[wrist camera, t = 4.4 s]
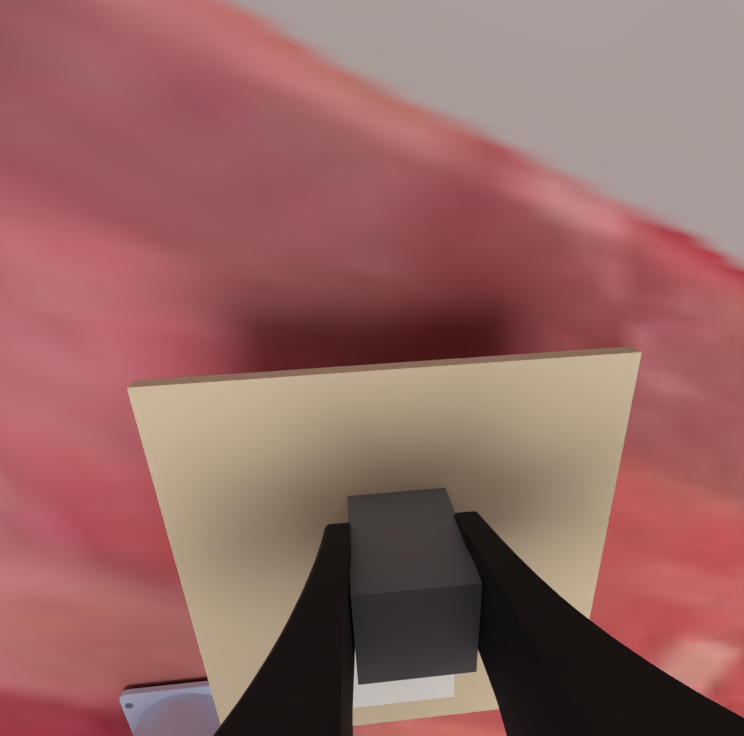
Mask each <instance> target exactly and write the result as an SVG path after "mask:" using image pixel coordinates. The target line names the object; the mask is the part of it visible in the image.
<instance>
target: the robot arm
mask: <svg viewBox="0 0 744 736" xmlns="http://www.w3.org/2000/svg"><path fill="white" fill-rule="evenodd" d="M454 517H455V520H456V522H457V525H458V528H459V530H460V533H461V535H462V538H463V541H464V543H465V545H466V547H467V549H468V551H469V553H470V555H471V557H472V559H473V561H474V563H475V565H476V568H477V571H478V573H479V576H480V578H481V581H482V596H481V611H480V626H479V641H478V651H479V653H480V656H481V659H482V661H483V664H484V667H485V670H486V672H487V675H488V678H489V681H490V683H491V686H492V689H493V691H494V694H495V697H496V700H497V703H498V706H499V709H500V713H501V716H502V719H503V723H504V727H505V730H506V734H507V736H744V718H743V717H741V716H739V715H737V714H736V713H734V712H732V711H730V710H728V709H726V708H725V707H723V706H721V705H719V704H717V703H715V702H714V701H712V700H710V699H708V698H706V697H705V696H703V695H701V694H699V693H698V692H696V691H694V690H693V689H691V688H690V687H688V686H686V685H685V684H683V683H681V682H680V681H678V680H676V679H675V678H673V677H671V676H670V675H668V674H667V673H665V672H663V671H662V670H660V669H659V668H657V667H656V666H654V665H653V664H651V663H649V662H648V661H646V660H645V659H644V658H642V657H641V656H639V655H638V654H636V653H635V652H633V651H632V650H630V649H629V648H628V647H626V646H625V645H623V644H622V643H620V642H619V641H617V640H616V639H614V638H613V637H612V636H610V635H609V634H608V633H606V632H605V631H603V630H602V629H601V628H599V627H598V626H597V625H595V624H594V623H593V622H592V621H590V620H589V619H588V618H587V617H585V616H584V615H583V614H581V613H580V612H579V611H578V610H577V609H575V608H574V607H573V606H572V605H571V604H569V603H568V602H567V601H566V600H565V599H563V598H562V597H561V596H560V595H559V594H558V593H557V592H556V591H554V590H553V589H552V588H551V587H550V586H549V585H548V584H547V583H546V582H544V581H543V580H542V579H541V578H540V577H539V576H538V575H537V574H536V573H535V572H534V571H533V570H532V569H531V568H530V567H529V566H528V565H527V564H526V563H525V562H524V561H523V560H522V559H521V558H520V557H519V556H518V555H517V554H516V553H515V552H514V551H513V550H512V549H511V548H510V547H509V546H508V545H507V544H506V543H505V542H504V541H503V540H502V539H501V538H500V537H499V536H498V534H497V533H496V532H495V531H494V530H493V529H492V528H491V527H490V526H489V525H488V523H487V522H486V521H485V520H484V519H483V518H482V517H481V516H480V514H478V513H477V512H476V511H471V512H460V513H455V515H454ZM350 566H351V532H350V522H348V523H336V524H328V525H327V526H326V527H325V528H324V533H323V537H322V541H321V544H320V547H319V550H318V553H317V556H316V559H315V562H314V564H313V567H312V569H311V572H310V574H309V576H308V579H307V581H306V584H305V586H304V588H303V590H302V593H301V595H300V597H299V599H298V601H297V603H296V605H295V607H294V609H293V611H292V613H291V615H290V617H289V619H288V621H287V623H286V625H285V627H284V629H283V631H282V632H281V634H280V636H279V638H278V640H277V641H276V643H275V645H274V646H273V648H272V650H271V652H270V653H269V655H268V657H267V658H266V660H265V661H264V663H263V665H262V666H261V668H260V669H259V671H258V672H257V674H256V675H255V677H254V679H253V680H252V682H251V683H250V685H249V686H248V688H247V689H246V691H245V692H244V694H243V695H242V697H241V698H240V700H239V701H238V702H237V704H236V705H235V707H234V708H233V709H232V711H231V712H230V713H229V715H228V716H227V717H226V719H225V720H224V721H223V723H222V724H221V725H220V721H219V718H218V714H217V710H216V707H215V703H214V700H213V696H212V692H211V689H210V685H209V682H208V681H199V682H190V683H181V684H172V685H162V686H153V687H144V688H135V689H127V690H124V691H123V692H122V693H121V696H120V698H119V701H120V704H121V706H122V709H123V711H124V714H125V716H126V719H127V721H128V724H129V726H130V729H131V731H132V734H133V736H353V689H354V664H355V641H354V629H353V617H352V606H351V590H350Z"/></svg>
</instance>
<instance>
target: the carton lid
mask: <svg viewBox="0 0 744 736" xmlns="http://www.w3.org/2000/svg"><path fill="white" fill-rule="evenodd" d="M641 353H642V352H641V351H638V350H636V349H634V348H632V347H617V348H602V349H588V350H573V351H559V352H544V353H530V354H515V355H500V356H486V357H471V358H457V359H442V360H428V361H413V362H398V363H384V364H369V365H355V366H340V367H326V368H311V369H297V370H282V371H267V372H253V373H238V374H224V375H209V376H195V377H180V378H166V379H151V380H136V381H134V382H133V383H132V384H131V385H130V386H128V387H127V390H128V394H129V398H130V401H131V405H132V408H133V412H134V416H135V419H136V423H137V426H138V430H139V434H140V437H141V441H142V444H143V448H144V451H145V455H146V459H147V462H148V466H149V469H150V473H151V477H152V480H153V484H154V487H155V491H156V495H157V498H158V502H159V505H160V509H161V513H162V516H163V520H164V523H165V527H166V531H167V534H168V538H169V541H170V545H171V549H172V552H173V556H174V559H175V563H176V567H177V570H178V574H179V577H180V581H181V585H182V588H183V592H184V595H185V599H186V603H187V606H188V610H189V613H190V617H191V620H192V624H193V628H194V631H195V635H196V638H197V642H198V646H199V649H200V653H201V656H202V660H203V664H204V667H205V671H206V674H207V678H208V682H209V685H210V689H211V692H212V696H213V700H214V703H215V707H216V710H217V714H218V718H219V721H220V725H221V724H222V723H223V721H224V720H225V719H226V717H227V716H228V715H229V713H230V712H231V711H232V709H233V708H234V707H235V705H236V704H237V702H238V701H239V700H240V698H241V697H242V695H243V694H244V692H245V691H246V689H247V688H248V686H249V685H250V683H251V682H252V680H253V679H254V677H255V675H256V674H257V672H258V671H259V669H260V668H261V666H262V665H263V663H264V661H265V660H266V658H267V657H268V655H269V653H270V652H271V650H272V648H273V646H274V645H275V643H276V641H277V640H278V638H279V636H280V634H281V632H282V631H283V629H284V627H285V625H286V623H287V621H288V619H289V617H290V615H291V613H292V611H293V609H294V607H295V605H296V603H297V601H298V599H299V597H300V595H301V593H302V590H303V588H304V586H305V584H306V581H307V579H308V576H309V574H310V572H311V569H312V567H313V564H314V562H315V559H316V556H317V553H318V550H319V547H320V544H321V541H322V537H323V533H324V528H325V527H326V526H327V525H328V524H336V523H348V522H350V532H351V566H350V590H351V606H352V617H353V629H354V641H355V664H354V689H353V726H357V725H366V724H375V723H383V722H392V721H400V720H409V719H417V718H426V717H434V716H443V715H452V714H460V713H469V712H477V711H486V710H494V709H499V706H498V703H497V700H496V697H495V694H494V691H493V689H492V686H491V683H490V681H489V678H488V675H487V672H486V670H485V667H484V664H483V661H482V659H481V656H480V653H479V651H478V641H479V626H480V611H481V596H482V581H481V578H480V576H479V573H478V571H477V568H476V565H475V563H474V561H473V559H472V557H471V555H470V553H469V551H468V549H467V547H466V545H465V543H464V541H463V538H462V535H461V533H460V530H459V528H458V525H457V522H456V520H455V517H454V515H455V513H460V512H471V511H476V512H477V513H478V514H480V516H481V517H482V518H483V519H484V520H485V521H486V522H487V523H488V525H489V526H490V527H491V528H492V529H493V530H494V531H495V532H496V533H497V534H498V536H499V537H500V538H501V539H502V540H503V541H504V542H505V543H506V544H507V545H508V546H509V547H510V548H511V549H512V550H513V551H514V552H515V553H516V554H517V555H518V556H519V557H520V558H521V559H522V560H523V561H524V562H525V563H526V564H527V565H528V566H529V567H530V568H531V569H532V570H533V571H534V572H535V573H536V574H537V575H538V576H539V577H540V578H541V579H542V580H543V581H544V582H546V583H547V584H548V585H549V586H550V587H551V588H552V589H553V590H554V591H556V592H557V593H558V594H559V595H560V596H561V597H562V598H563V599H565V600H566V601H567V602H568V603H569V604H571V605H572V606H573V607H574V608H575V609H577V610H578V611H579V612H580V613H581V614H583V615H584V616H585V617H587V618H588V619H589V618H590V613H591V608H592V603H593V598H594V593H595V588H596V582H597V577H598V572H599V567H600V562H601V557H602V552H603V547H604V542H605V537H606V531H607V526H608V521H609V516H610V511H611V506H612V501H613V496H614V491H615V486H616V481H617V475H618V470H619V465H620V460H621V455H622V450H623V445H624V440H625V435H626V430H627V425H628V419H629V414H630V409H631V404H632V399H633V394H634V389H635V384H636V379H637V374H638V368H639V363H640V358H641Z"/></svg>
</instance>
